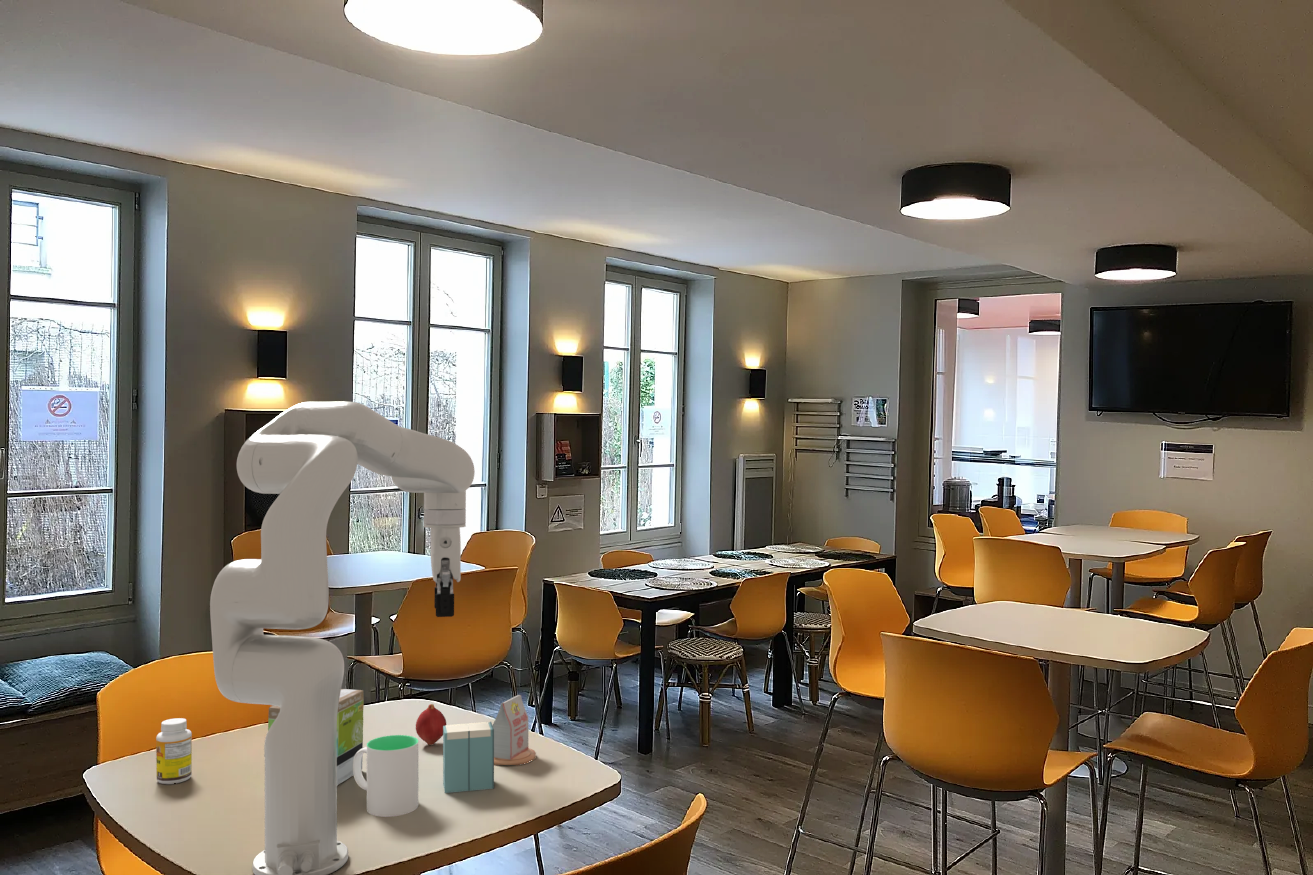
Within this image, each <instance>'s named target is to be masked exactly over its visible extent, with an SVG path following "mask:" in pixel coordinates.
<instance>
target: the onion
mask: <svg viewBox="0 0 1313 875" xmlns="http://www.w3.org/2000/svg"><path fill="white" fill-rule="evenodd" d="M446 725H447V720H446V717H445V716H444V714H443V713H442V711H440V710H439V709H437V708H436V707H435V706H434V704H433V703H430V704H428V707H427V708H426V709H424V710H423V711H422V712H421V713H420V714H419V715H418V716H417V719H416V722H415V732H416V734H417V735H418V737H419V738H420V739H421V740H422V741H424V742H425V743H426V744H427V745H428V746H433V745H435V744H436V743H438V741H439V740H440V739H441V738H442V737H443V726H446Z"/></svg>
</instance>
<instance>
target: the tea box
mask: <svg viewBox="0 0 1313 875" xmlns="http://www.w3.org/2000/svg"><path fill="white" fill-rule="evenodd" d="M364 697H365V696H364V690H363V689H362V690H361V689H349V688H348V689H347V688H341V692H340V698H339V704H338V713H337V786H338V785H340V784H342V783H343V782H346V781H347V780H348V779H350V778H351V777H354V775H353V760H354V756H355V754H356V753H357V752H358V751H359V750H360V749H362V748H364V745H363V744H364ZM279 713H280V707H279V706H272V705H271V706H270V707H269V708H268V715H267V716H268V723H267V724H268V726H267V731H268V730H269V729H270V727H271V725H272V724H273V722H274V721H275V719H276V718H277V716H278V715H279ZM363 762H364V761H363V755H362V758H361V771H362V770H363Z"/></svg>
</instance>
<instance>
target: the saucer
mask: <svg viewBox="0 0 1313 875" xmlns="http://www.w3.org/2000/svg"><path fill="white" fill-rule="evenodd" d="M535 757H536V758H537V752H536V751H535V750H534V749H532V748H530V747H528V749H527V750H525V751H524V752H522V753H521V754H519V755H517V756H516V757H514V758H512V759H511V760H509V759H502V758H494V766H499V765H516V766H521V765H520V764H523V765H525V764H524V763H527V762H529V761H531V760H533V761H534V760H536V758H535ZM529 763H530V762H529ZM527 764H528V763H527Z"/></svg>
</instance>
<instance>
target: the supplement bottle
mask: <svg viewBox="0 0 1313 875" xmlns="http://www.w3.org/2000/svg"><path fill="white" fill-rule="evenodd" d="M187 726H188V725H187V719H186V718H184V717H183V718H182V717H181V718H180V717H179V718H169V719H166V720H163V721H162V722H161V726H160V727H161V728H160V731H161V732H158V734H157V735H156V737H155V739H156V741H155V745H156V746H155V747H156V749H155V750H156V751H155V752H156V756H155V757H156V758H155V759H156V762H155V763H156V764H155V765H156V766H155V767H156V781H157V782H158V783H159V784H161V785H162V784H163V785H174V783H176V784H180V783H183V782H186V781H188V780H189V779H191V777H192V774H193V771H192V770H193V768H192V767H193V762H192V760H193V755H192V754H193V753H192V751H193V750H192V749H193V747H192V746H193V744H192V743H193V740H192V739H193V738H192V736H193V735H192V734H193V733H192V731H191V730H190V729H187V728H188V727H187Z"/></svg>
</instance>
